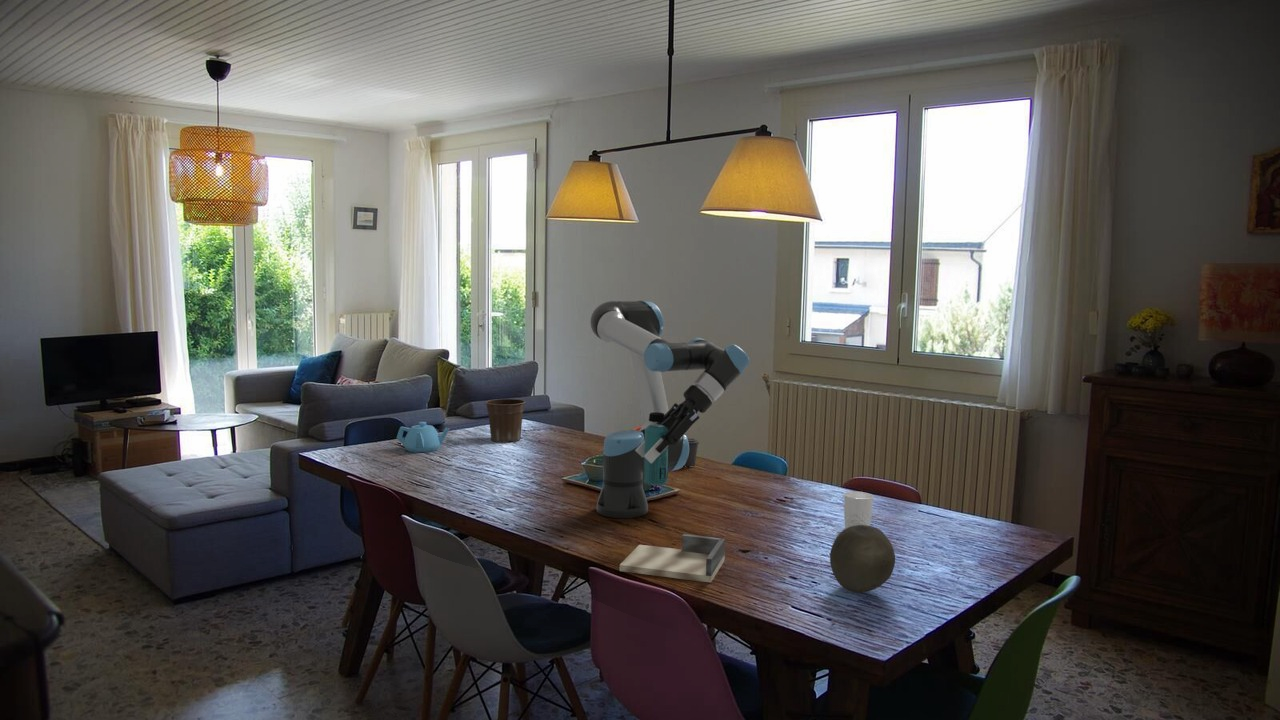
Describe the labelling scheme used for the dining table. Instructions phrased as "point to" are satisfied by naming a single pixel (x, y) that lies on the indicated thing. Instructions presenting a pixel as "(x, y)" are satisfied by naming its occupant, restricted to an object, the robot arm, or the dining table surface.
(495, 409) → the plant pot
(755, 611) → the dining table surface
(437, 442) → the teapot
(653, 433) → the beverage bottle
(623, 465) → the robot arm
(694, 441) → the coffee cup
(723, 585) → the dining table surface
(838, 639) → the dining table surface
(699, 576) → the corner board
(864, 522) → the white cup
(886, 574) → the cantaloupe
